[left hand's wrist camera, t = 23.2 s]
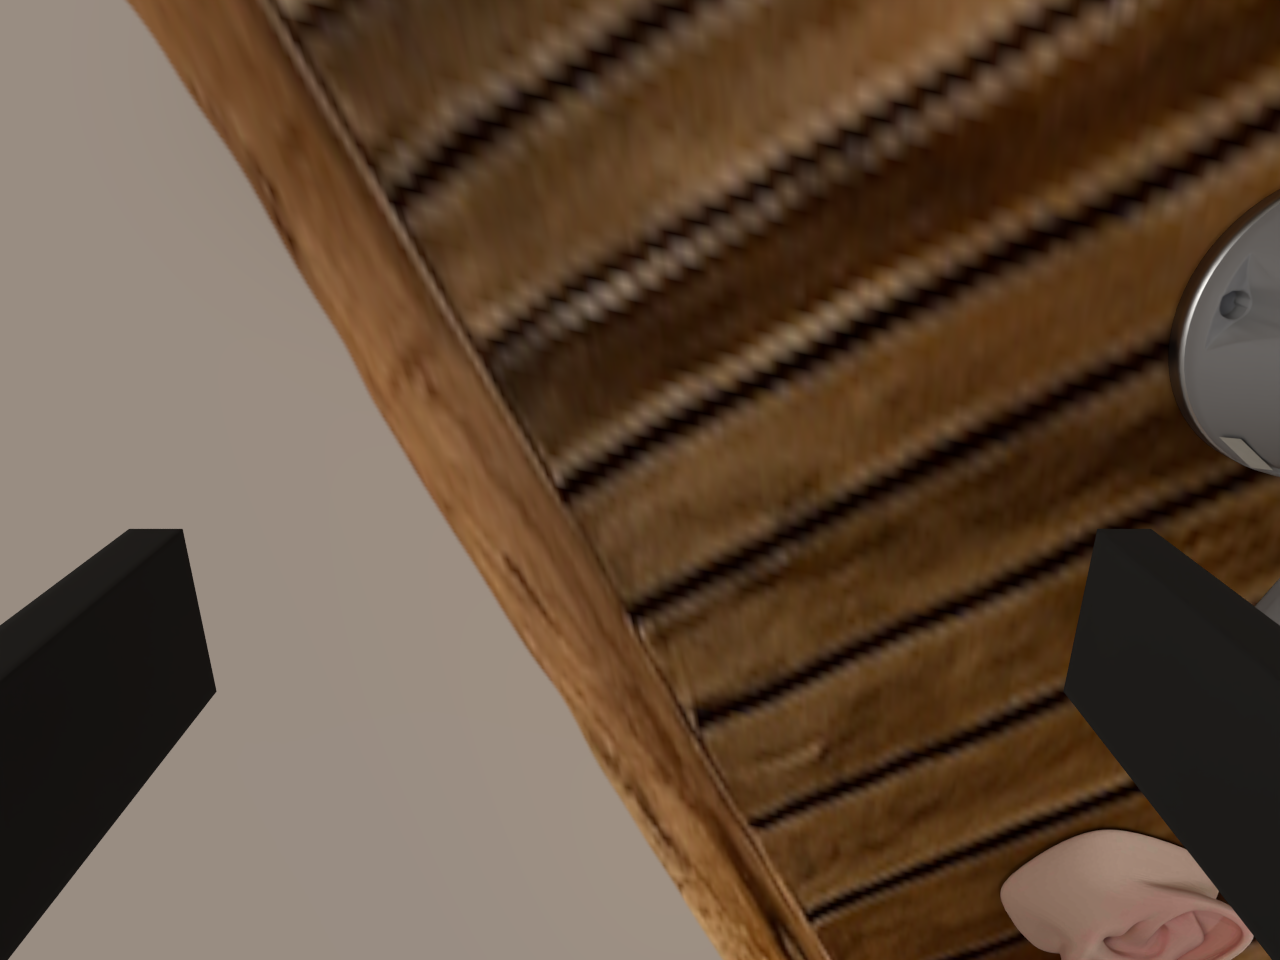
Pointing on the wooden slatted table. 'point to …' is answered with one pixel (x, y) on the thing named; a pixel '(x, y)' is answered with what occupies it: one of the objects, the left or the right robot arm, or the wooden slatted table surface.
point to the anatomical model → (1122, 902)
